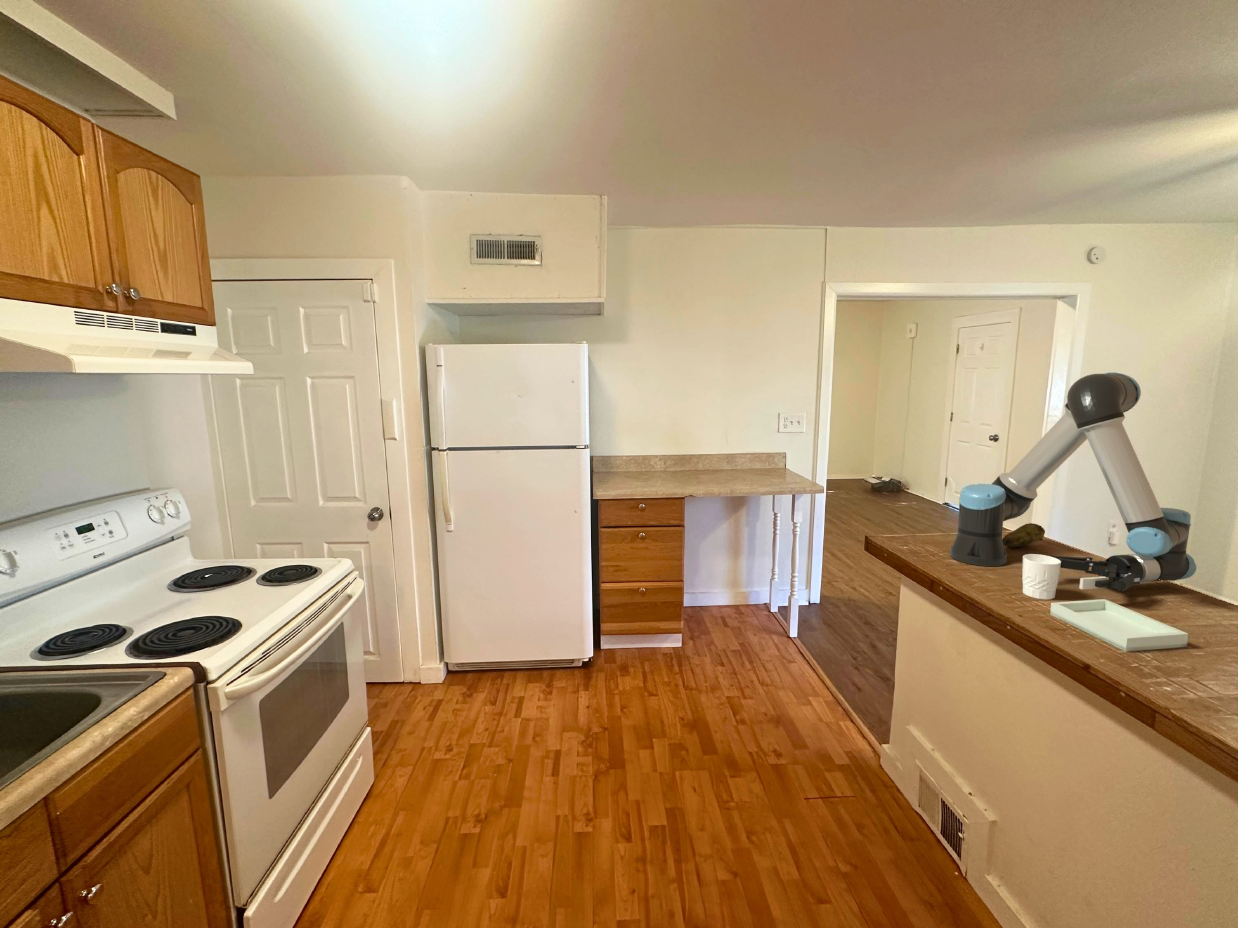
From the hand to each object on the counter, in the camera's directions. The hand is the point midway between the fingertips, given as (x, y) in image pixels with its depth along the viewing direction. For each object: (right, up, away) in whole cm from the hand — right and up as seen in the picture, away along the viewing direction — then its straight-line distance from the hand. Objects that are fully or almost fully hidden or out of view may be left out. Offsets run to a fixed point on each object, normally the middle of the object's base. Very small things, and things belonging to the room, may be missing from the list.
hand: (1056, 574), depth 138 cm
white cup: (-4, -6, +2) cm, 7 cm away
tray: (-2, -9, -18) cm, 20 cm away
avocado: (+21, +1, +39) cm, 44 cm away
